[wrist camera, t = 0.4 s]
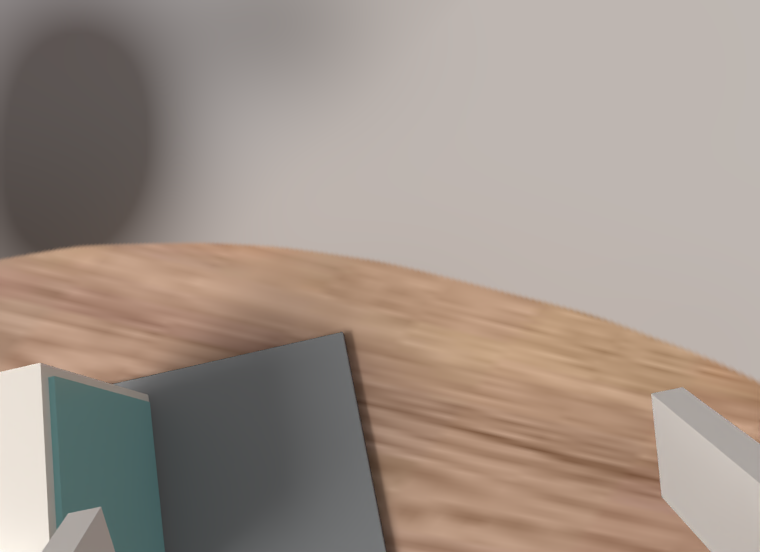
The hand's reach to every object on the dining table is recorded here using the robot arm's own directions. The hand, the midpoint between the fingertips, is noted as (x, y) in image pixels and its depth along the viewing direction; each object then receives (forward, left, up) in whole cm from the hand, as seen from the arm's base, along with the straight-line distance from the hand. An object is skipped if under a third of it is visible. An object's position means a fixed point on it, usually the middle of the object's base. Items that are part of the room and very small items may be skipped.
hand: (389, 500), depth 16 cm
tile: (+3, +14, -18) cm, 23 cm away
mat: (+3, +9, -19) cm, 21 cm away
